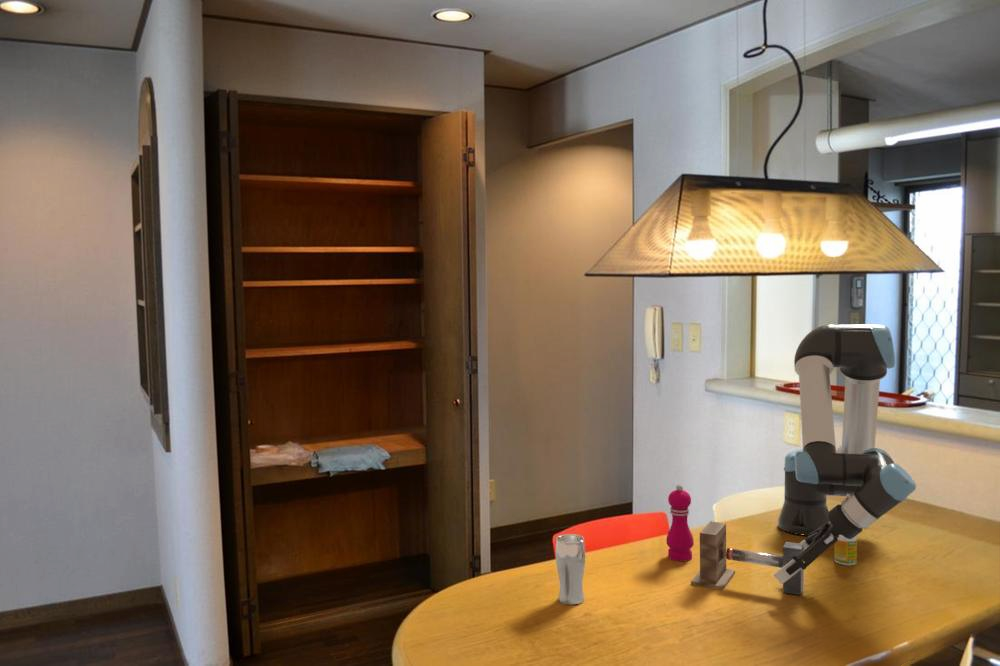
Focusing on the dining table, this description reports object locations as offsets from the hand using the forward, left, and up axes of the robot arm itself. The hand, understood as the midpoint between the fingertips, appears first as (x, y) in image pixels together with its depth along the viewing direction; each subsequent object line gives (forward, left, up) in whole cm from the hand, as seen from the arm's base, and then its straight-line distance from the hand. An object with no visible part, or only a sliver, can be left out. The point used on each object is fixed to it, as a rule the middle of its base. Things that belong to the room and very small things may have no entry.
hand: (782, 569), depth 188 cm
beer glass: (+51, -7, -5) cm, 52 cm away
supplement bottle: (-25, -13, -5) cm, 29 cm away
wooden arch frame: (+13, -11, -5) cm, 18 cm away
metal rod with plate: (+3, -3, -5) cm, 6 cm away
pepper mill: (+15, -27, -5) cm, 31 cm away
